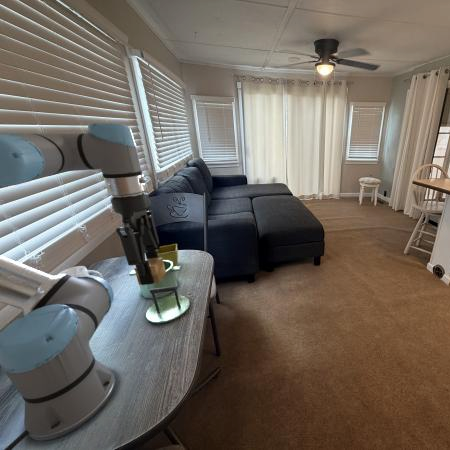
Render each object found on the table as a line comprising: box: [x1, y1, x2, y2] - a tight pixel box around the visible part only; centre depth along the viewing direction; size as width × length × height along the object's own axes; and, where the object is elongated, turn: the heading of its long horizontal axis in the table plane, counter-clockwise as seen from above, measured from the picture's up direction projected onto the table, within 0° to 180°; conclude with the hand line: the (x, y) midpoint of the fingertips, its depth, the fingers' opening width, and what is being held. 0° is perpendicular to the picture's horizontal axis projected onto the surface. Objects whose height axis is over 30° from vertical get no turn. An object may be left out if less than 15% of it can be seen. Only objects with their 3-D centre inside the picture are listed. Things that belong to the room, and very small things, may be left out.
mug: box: [57, 265, 104, 279], centre depth 90 cm, size 12×8×12 cm
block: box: [133, 257, 166, 286], centre depth 64 cm, size 5×5×5 cm
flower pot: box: [156, 243, 179, 266], centre depth 111 cm, size 9×9×9 cm
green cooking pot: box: [128, 260, 182, 300], centre depth 95 cm, size 13×18×10 cm
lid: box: [145, 286, 191, 324], centre depth 82 cm, size 14×14×10 cm
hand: (152, 277), depth 65 cm, fingers closed on block, 5 cm apart
